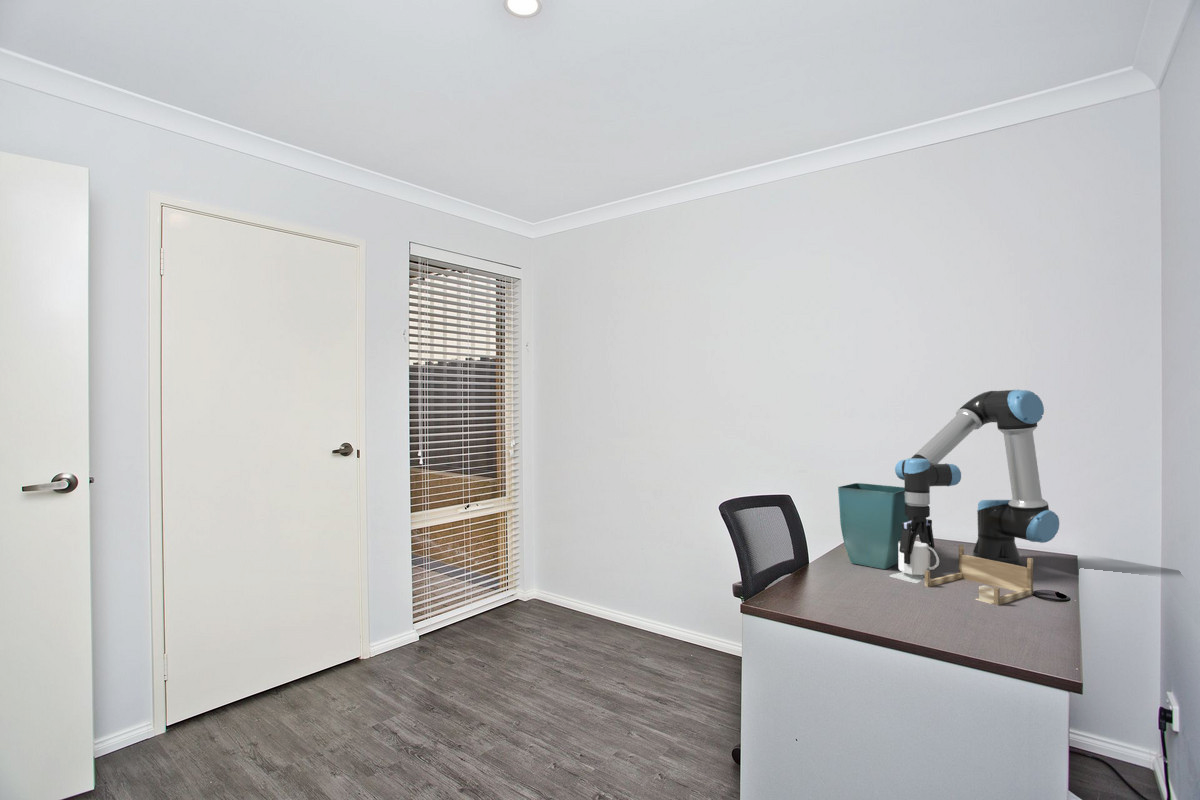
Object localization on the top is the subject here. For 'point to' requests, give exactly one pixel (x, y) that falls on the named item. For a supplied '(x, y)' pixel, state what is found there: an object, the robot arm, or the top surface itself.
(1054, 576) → the top surface
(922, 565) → the mug
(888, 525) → the flower pot
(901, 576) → the felt mat
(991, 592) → the offcut
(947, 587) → the top surface
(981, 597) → the offcut
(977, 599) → the offcut
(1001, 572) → the frame
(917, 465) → the robot arm
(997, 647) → the top surface
